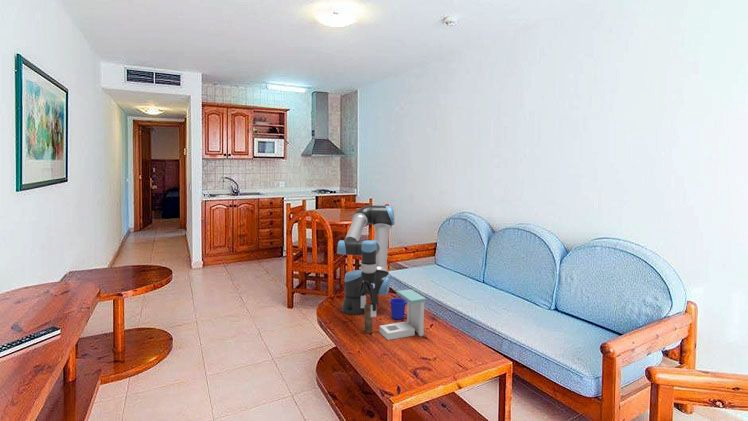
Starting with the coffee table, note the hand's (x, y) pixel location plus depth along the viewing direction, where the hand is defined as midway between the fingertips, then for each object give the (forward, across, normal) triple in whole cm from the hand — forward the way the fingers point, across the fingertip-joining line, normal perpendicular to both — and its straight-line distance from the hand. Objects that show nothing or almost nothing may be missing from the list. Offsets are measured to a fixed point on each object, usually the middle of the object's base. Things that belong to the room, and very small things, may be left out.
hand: (368, 312), depth 204 cm
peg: (+10, 0, 0) cm, 11 cm away
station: (+10, +8, +15) cm, 20 cm away
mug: (+10, -10, +24) cm, 28 cm away
